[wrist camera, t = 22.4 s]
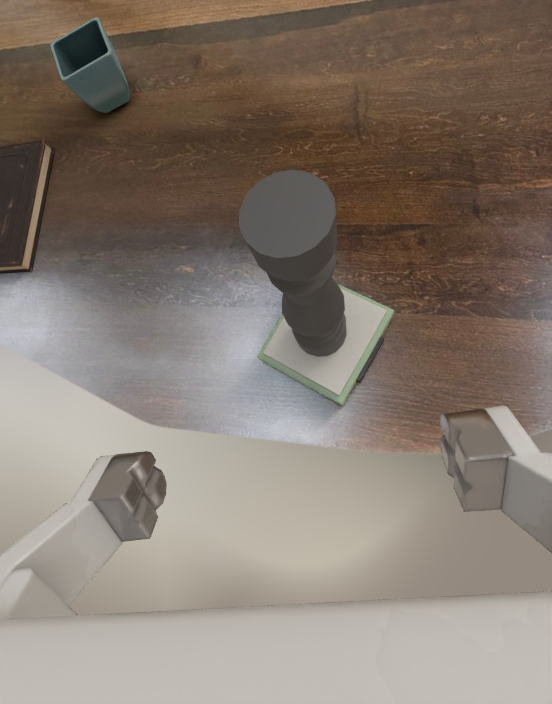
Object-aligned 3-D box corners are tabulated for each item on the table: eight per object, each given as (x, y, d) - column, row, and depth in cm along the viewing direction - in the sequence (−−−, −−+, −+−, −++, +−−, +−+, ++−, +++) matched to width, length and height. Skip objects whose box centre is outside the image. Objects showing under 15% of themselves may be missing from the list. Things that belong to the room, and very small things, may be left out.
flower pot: (86, 92, 68) (48, 42, 60) (129, 69, 67) (96, 14, 59) (99, 127, 66) (61, 80, 57) (143, 103, 65) (111, 52, 56)
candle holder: (357, 336, 45) (363, 216, 21) (315, 367, 45) (272, 283, 21) (326, 297, 47) (298, 147, 23) (285, 327, 47) (215, 209, 23)
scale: (346, 408, 47) (345, 406, 43) (262, 361, 50) (255, 355, 47) (395, 319, 48) (399, 309, 44) (310, 279, 52) (307, 266, 48)
